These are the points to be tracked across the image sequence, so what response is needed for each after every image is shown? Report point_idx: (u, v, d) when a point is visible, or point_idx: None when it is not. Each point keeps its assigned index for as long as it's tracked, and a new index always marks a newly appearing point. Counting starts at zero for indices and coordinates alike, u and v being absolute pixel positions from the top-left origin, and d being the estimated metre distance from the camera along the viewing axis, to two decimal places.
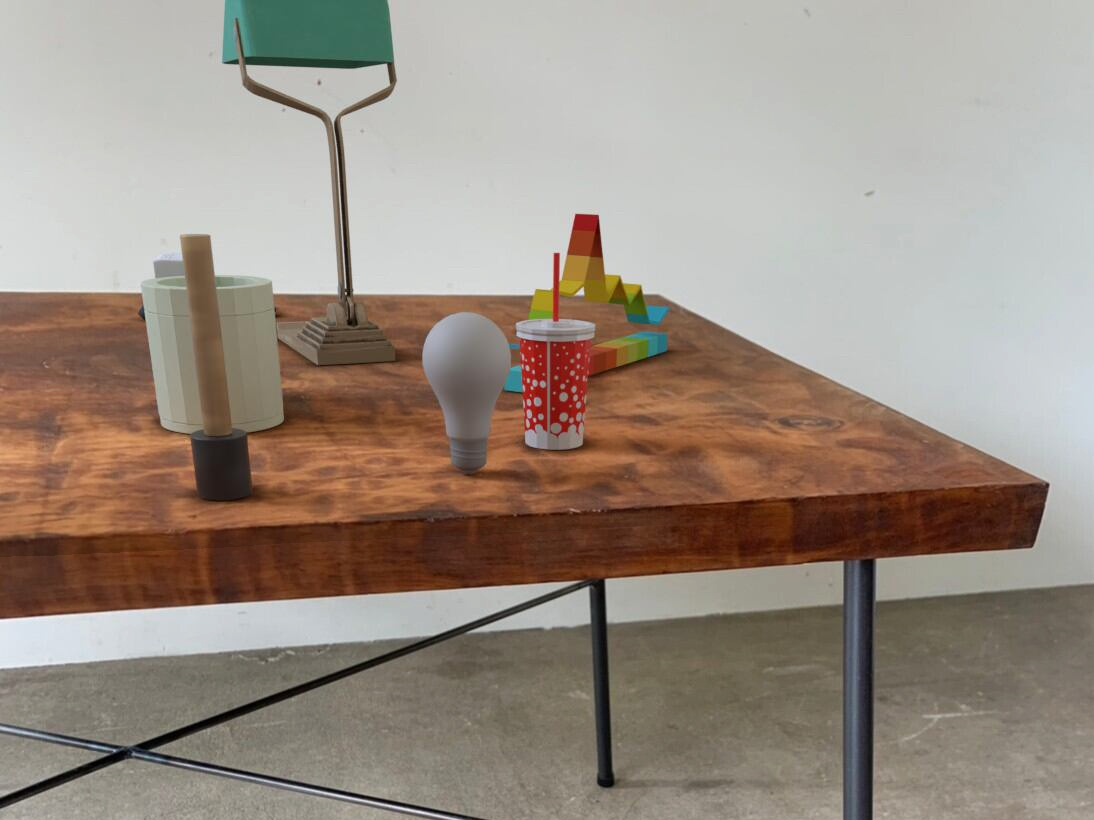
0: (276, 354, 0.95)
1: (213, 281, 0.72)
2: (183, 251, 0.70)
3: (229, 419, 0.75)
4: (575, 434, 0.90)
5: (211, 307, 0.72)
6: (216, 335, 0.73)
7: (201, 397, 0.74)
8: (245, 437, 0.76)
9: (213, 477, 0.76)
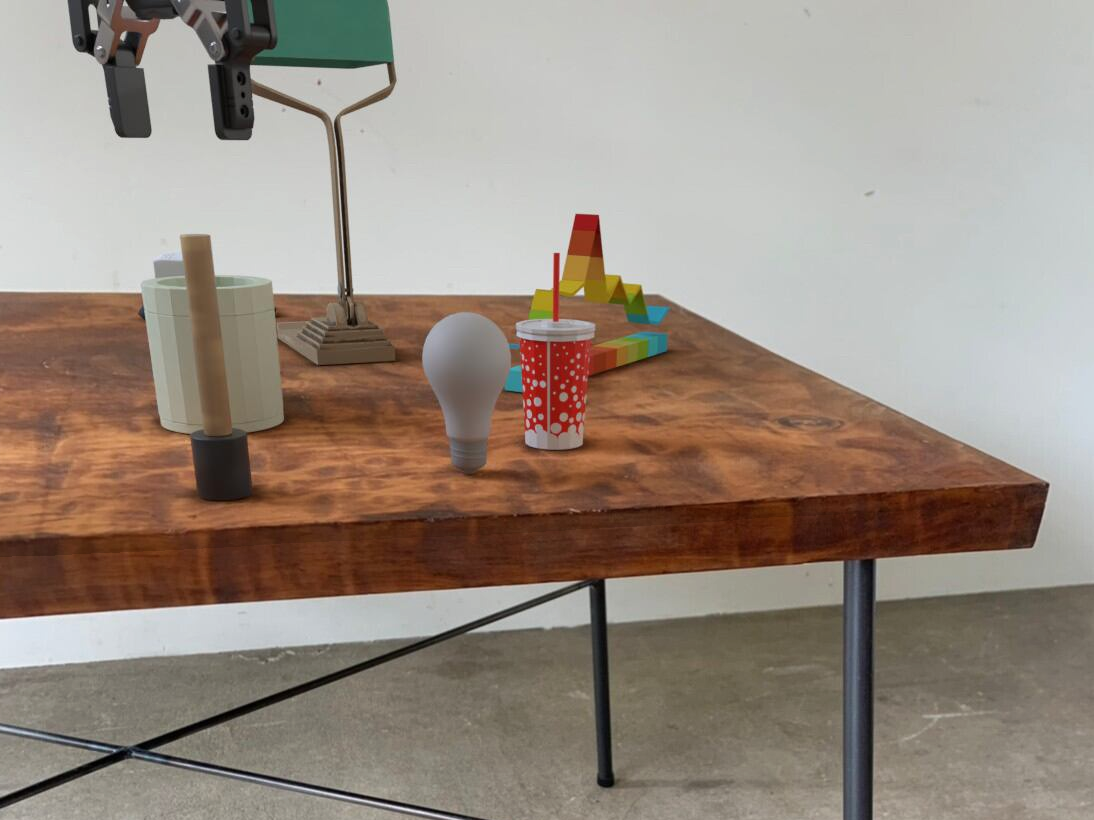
0: (276, 354, 0.95)
1: (213, 281, 0.72)
2: (183, 251, 0.70)
3: (229, 419, 0.75)
4: (575, 434, 0.90)
5: (211, 307, 0.72)
6: (216, 335, 0.73)
7: (201, 397, 0.74)
8: (245, 437, 0.76)
9: (213, 477, 0.76)
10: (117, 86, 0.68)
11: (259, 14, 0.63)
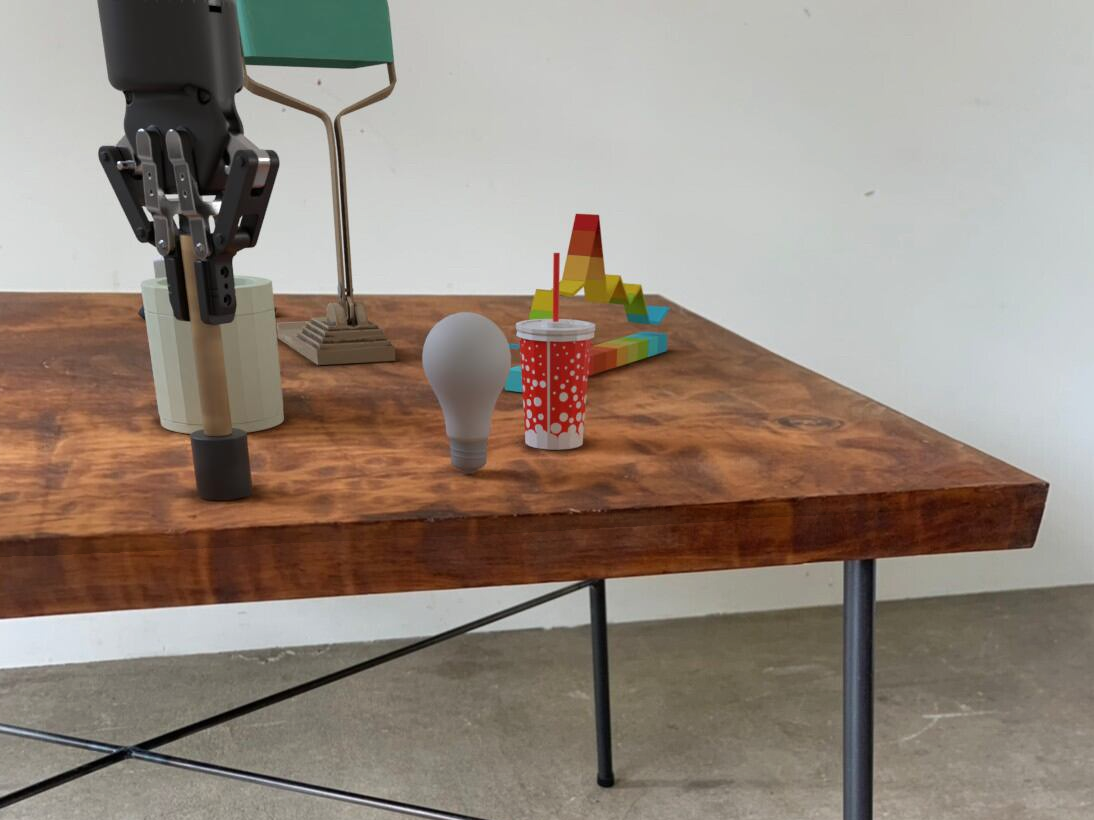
0: (276, 354, 0.95)
1: None
2: (183, 251, 0.70)
3: (229, 419, 0.75)
4: (575, 434, 0.90)
5: None
6: (216, 335, 0.73)
7: (201, 397, 0.74)
8: (245, 437, 0.76)
9: (213, 477, 0.76)
10: (177, 276, 0.71)
11: (248, 220, 0.69)
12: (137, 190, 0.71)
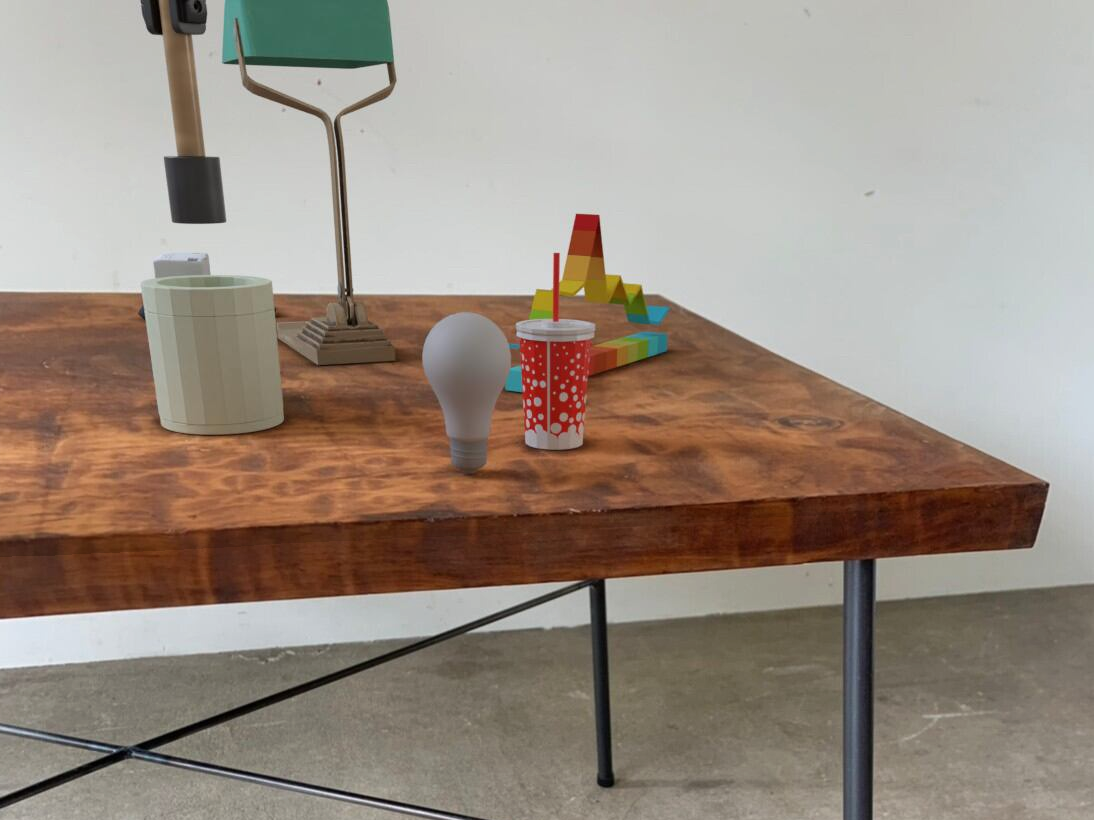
0: (276, 354, 0.95)
1: None
2: None
3: (202, 140, 0.77)
4: (575, 434, 0.90)
5: None
6: (188, 47, 0.74)
7: (174, 115, 0.76)
8: (218, 160, 0.77)
9: (186, 198, 0.77)
10: None
11: None
12: None
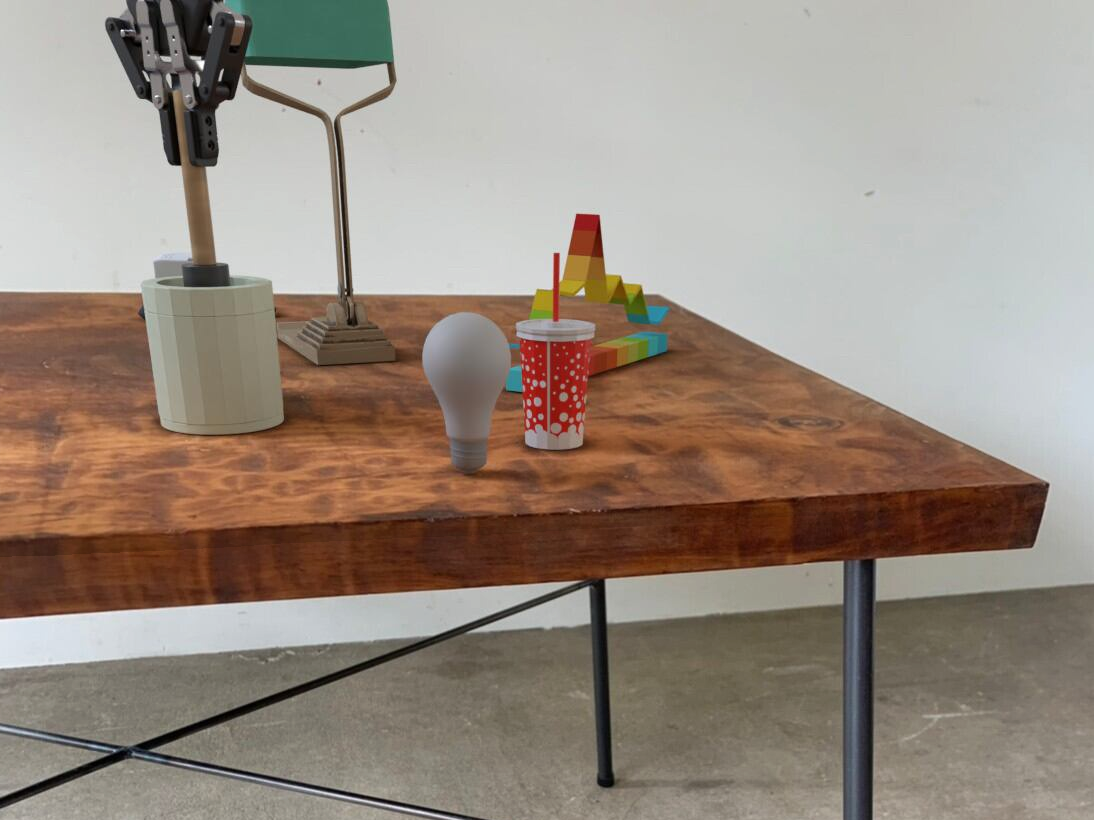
0: (276, 354, 0.95)
1: None
2: (175, 104, 0.86)
3: (214, 251, 0.91)
4: (575, 434, 0.90)
5: None
6: (202, 177, 0.88)
7: (190, 231, 0.90)
8: (227, 267, 0.92)
9: None
10: (170, 126, 0.87)
11: (227, 75, 0.84)
12: (136, 55, 0.86)
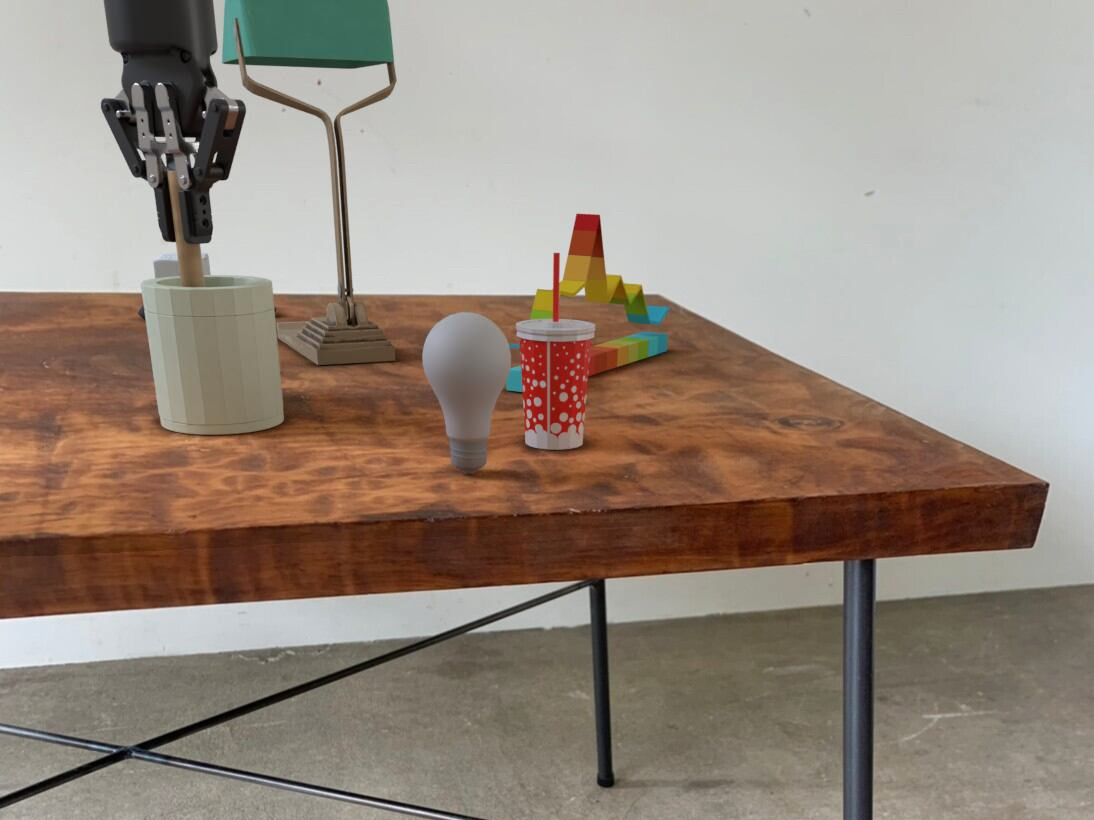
0: (276, 354, 0.95)
1: None
2: (169, 183, 0.87)
3: None
4: (575, 434, 0.90)
5: None
6: (197, 253, 0.90)
7: None
8: None
9: None
10: (165, 204, 0.88)
11: (221, 157, 0.86)
12: (132, 135, 0.88)
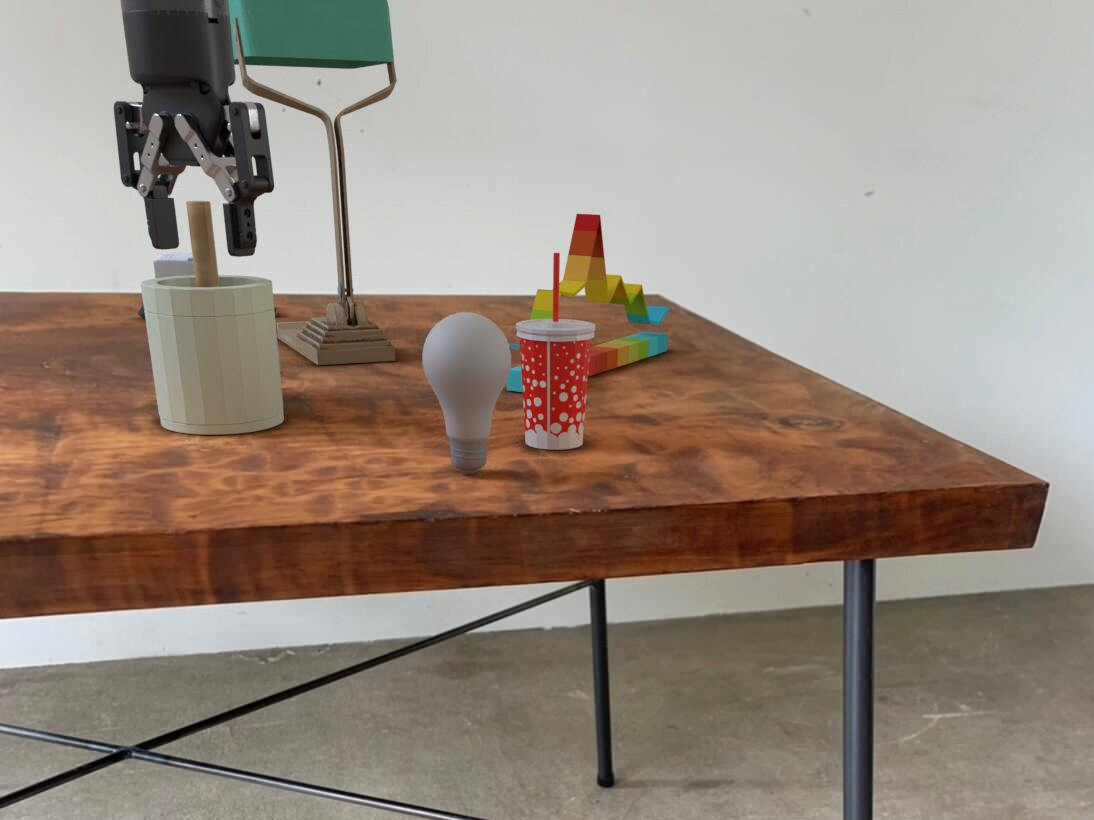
0: (276, 354, 0.95)
1: (212, 238, 0.90)
2: (189, 214, 0.89)
3: None
4: (575, 434, 0.90)
5: (211, 258, 0.91)
6: (215, 281, 0.92)
7: None
8: None
9: None
10: (154, 212, 0.91)
11: (261, 168, 0.86)
12: (134, 146, 0.90)
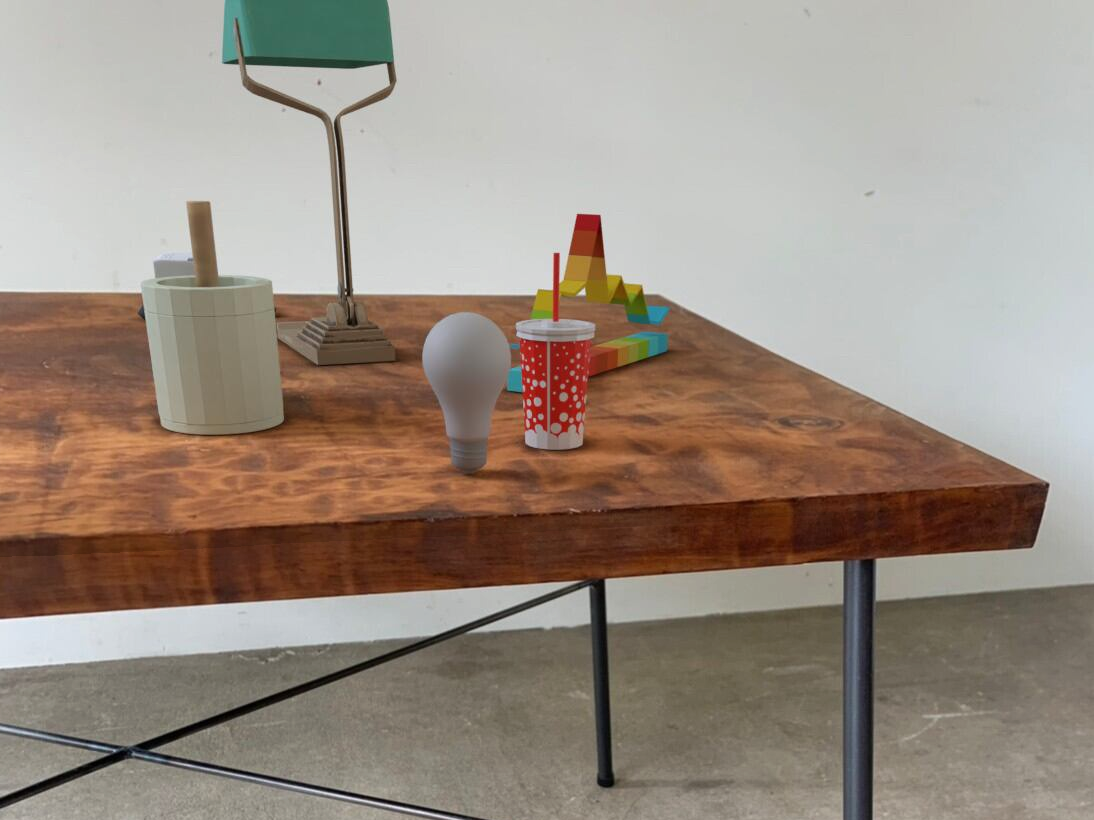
0: (276, 354, 0.95)
1: (212, 238, 0.90)
2: (189, 214, 0.89)
3: None
4: (575, 434, 0.90)
5: (211, 258, 0.91)
6: (215, 281, 0.92)
7: None
8: None
9: None
10: None
11: None
12: None
